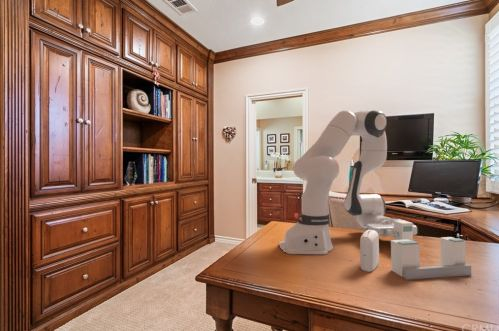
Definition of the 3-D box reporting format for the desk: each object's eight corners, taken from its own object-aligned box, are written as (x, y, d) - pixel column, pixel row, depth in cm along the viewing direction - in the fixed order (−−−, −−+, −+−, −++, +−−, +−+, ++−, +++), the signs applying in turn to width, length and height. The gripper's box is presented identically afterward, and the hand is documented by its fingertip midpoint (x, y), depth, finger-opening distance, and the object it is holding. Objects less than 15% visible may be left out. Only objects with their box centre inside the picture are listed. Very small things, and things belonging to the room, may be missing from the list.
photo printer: (372, 273, 80) (372, 235, 80) (358, 269, 82) (358, 232, 82) (380, 263, 87) (380, 228, 87) (367, 260, 90) (367, 226, 90)
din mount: (406, 279, 75) (405, 245, 75) (391, 270, 82) (390, 239, 81) (471, 275, 77) (470, 241, 77) (451, 266, 84) (451, 235, 84)
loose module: (402, 251, 96) (402, 223, 96) (393, 247, 101) (393, 220, 101) (413, 251, 97) (413, 223, 97) (403, 246, 102) (403, 220, 102)
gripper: (360, 219, 111) (380, 227, 97) (402, 218, 113) (427, 225, 99) (360, 233, 111) (380, 243, 97) (402, 232, 113) (427, 241, 99)
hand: (404, 234), depth 98 cm, fingers closed on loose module, 4 cm apart
